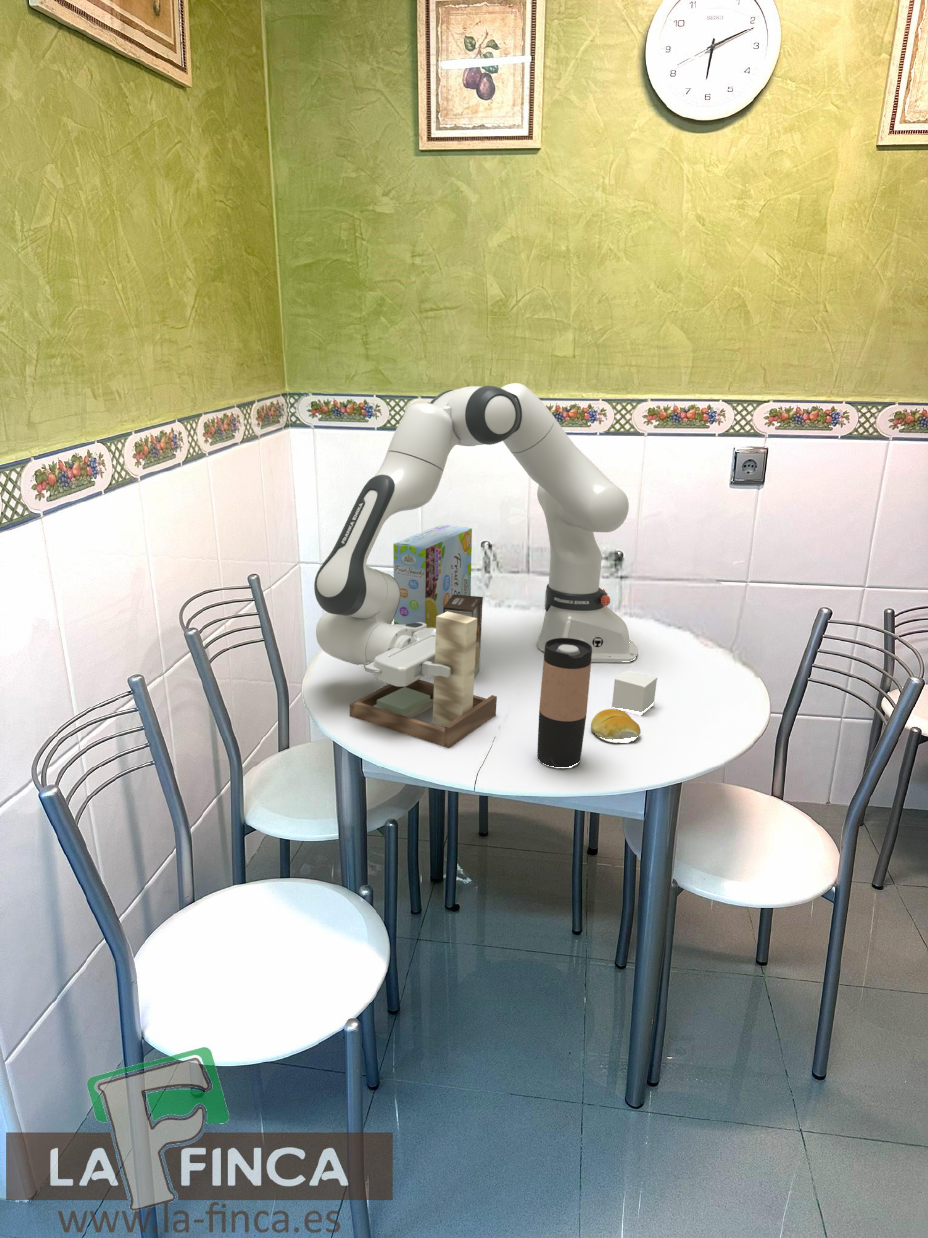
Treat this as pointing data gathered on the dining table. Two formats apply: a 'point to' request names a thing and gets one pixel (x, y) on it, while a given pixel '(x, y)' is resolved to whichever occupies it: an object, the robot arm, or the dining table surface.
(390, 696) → the offcut top
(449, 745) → the tray
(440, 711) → the beige tall rectangular block
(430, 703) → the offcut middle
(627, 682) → the off-white cube
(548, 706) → the travel mug
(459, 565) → the snack box
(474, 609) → the coffee box
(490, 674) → the dining table surface
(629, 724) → the bread roll
